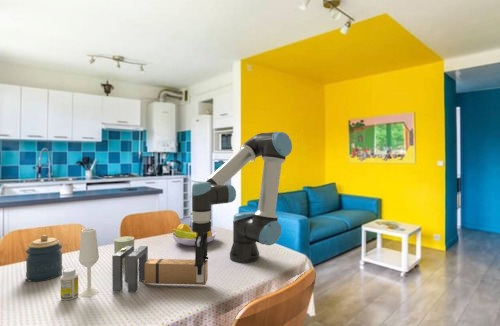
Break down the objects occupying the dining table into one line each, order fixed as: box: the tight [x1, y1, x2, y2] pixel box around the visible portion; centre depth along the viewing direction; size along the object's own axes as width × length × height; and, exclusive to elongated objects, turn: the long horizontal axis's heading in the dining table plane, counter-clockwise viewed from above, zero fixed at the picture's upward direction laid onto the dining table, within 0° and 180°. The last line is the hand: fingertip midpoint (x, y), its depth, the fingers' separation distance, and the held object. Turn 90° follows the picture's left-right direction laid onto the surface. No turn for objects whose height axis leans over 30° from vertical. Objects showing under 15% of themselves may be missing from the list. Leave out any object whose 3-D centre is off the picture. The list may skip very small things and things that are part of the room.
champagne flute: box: [78, 228, 100, 298], centre depth 111 cm, size 7×7×24 cm
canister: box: [25, 234, 63, 282], centre depth 126 cm, size 13×13×18 cm
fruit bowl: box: [171, 223, 218, 247], centre depth 174 cm, size 28×27×11 cm
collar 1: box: [111, 245, 135, 293], centre depth 118 cm, size 3×12×15 cm, turn 178°
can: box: [113, 235, 135, 267], centre depth 142 cm, size 9×9×12 cm
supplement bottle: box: [59, 267, 79, 301], centre depth 107 cm, size 6×6×10 cm
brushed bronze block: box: [144, 258, 209, 286], centre depth 117 cm, size 24×5×8 cm, turn 88°
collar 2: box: [127, 245, 149, 293], centre depth 117 cm, size 3×12×14 cm, turn 178°
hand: (201, 278), depth 117 cm, fingers closed on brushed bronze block, 5 cm apart
